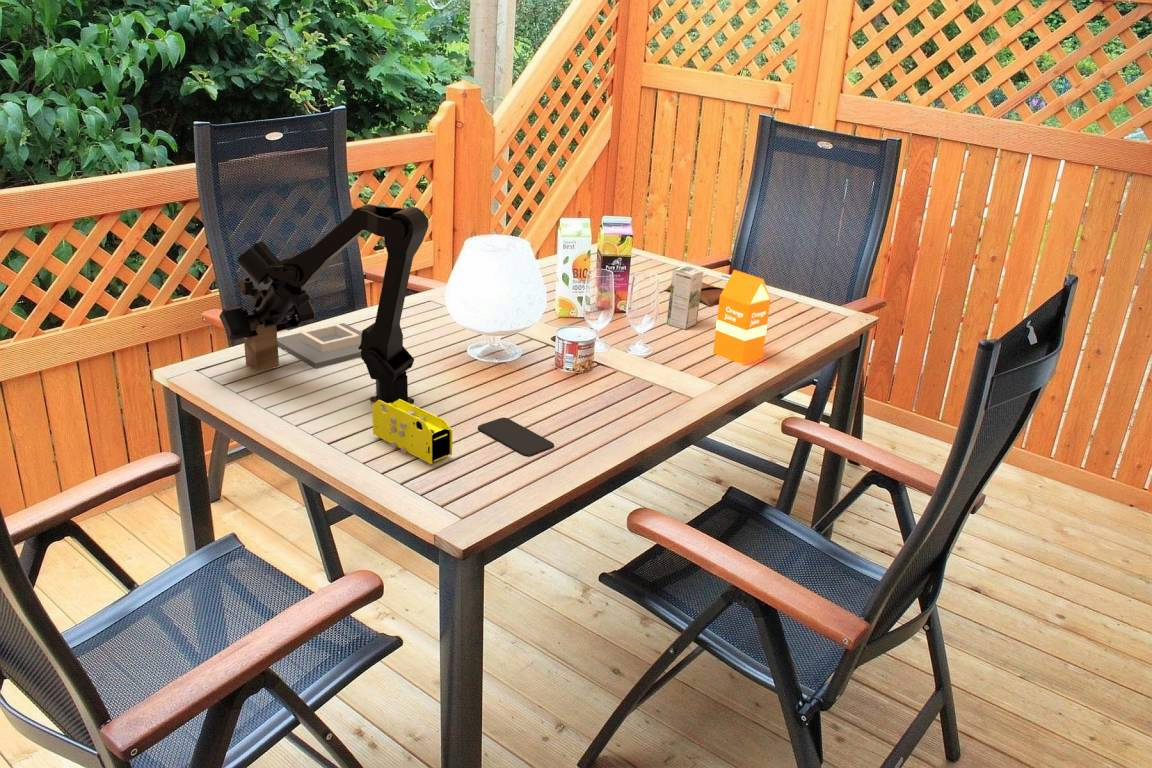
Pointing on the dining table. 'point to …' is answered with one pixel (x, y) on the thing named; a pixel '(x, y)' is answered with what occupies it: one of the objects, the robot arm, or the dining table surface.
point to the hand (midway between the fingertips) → (257, 334)
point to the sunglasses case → (707, 294)
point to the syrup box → (684, 297)
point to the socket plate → (324, 345)
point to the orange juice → (742, 318)
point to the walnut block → (262, 349)
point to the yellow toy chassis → (412, 430)
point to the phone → (515, 437)
